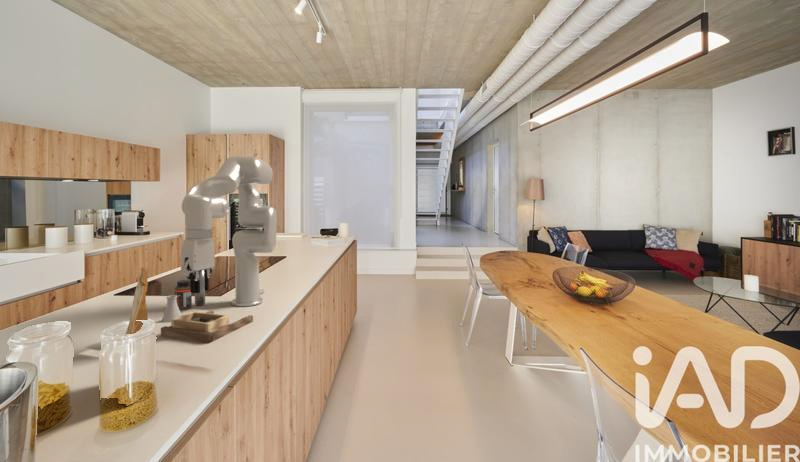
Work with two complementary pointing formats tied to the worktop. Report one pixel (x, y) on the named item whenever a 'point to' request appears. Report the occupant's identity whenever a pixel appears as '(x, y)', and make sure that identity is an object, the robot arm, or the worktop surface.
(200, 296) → the handle peg
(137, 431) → the worktop surface
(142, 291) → the pancake mix bag
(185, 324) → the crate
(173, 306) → the flask
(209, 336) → the bay
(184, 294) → the supplement bottle
